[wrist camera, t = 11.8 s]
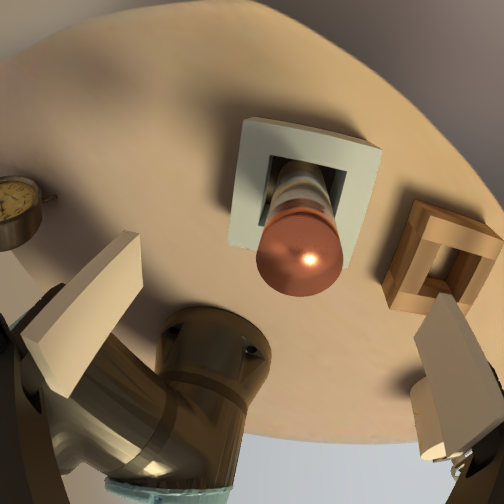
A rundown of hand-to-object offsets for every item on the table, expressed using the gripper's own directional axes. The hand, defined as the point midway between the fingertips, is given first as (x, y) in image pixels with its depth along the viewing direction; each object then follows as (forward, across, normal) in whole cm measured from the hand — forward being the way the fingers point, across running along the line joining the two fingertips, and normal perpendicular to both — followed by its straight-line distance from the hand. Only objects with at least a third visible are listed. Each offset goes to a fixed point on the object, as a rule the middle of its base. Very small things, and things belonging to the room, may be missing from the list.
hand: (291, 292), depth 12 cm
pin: (+16, 0, 0) cm, 16 cm away
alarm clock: (+17, -32, -6) cm, 37 cm away
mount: (+16, +16, -4) cm, 23 cm away
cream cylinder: (+16, +30, -26) cm, 42 cm away
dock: (+16, 0, 0) cm, 16 cm away
